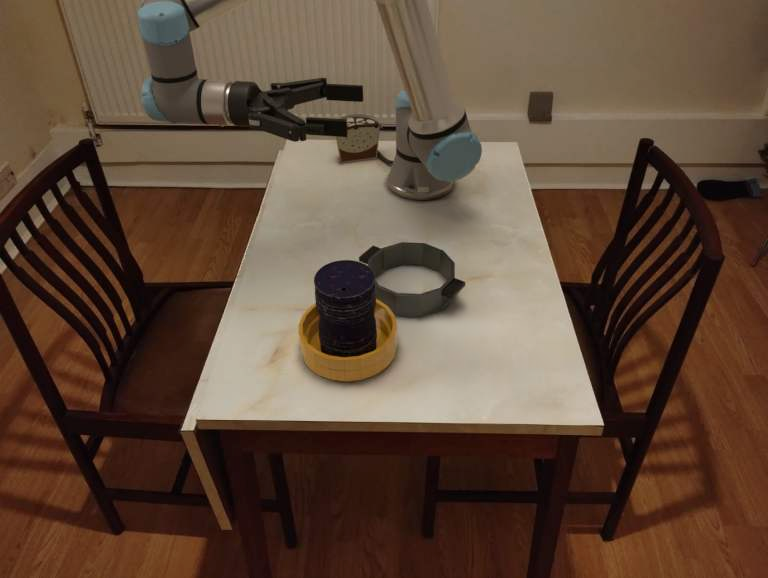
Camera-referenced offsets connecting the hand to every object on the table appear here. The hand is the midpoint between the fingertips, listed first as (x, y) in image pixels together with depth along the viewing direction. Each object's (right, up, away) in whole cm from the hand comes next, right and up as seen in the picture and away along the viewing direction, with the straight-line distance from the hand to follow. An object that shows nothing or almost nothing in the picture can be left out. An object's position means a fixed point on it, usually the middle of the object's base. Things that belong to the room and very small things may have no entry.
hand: (355, 110), depth 111 cm
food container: (-2, +4, +58) cm, 59 cm away
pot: (+10, -30, +16) cm, 36 cm away
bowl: (-1, -40, +4) cm, 40 cm away
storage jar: (-1, -40, +4) cm, 40 cm away
